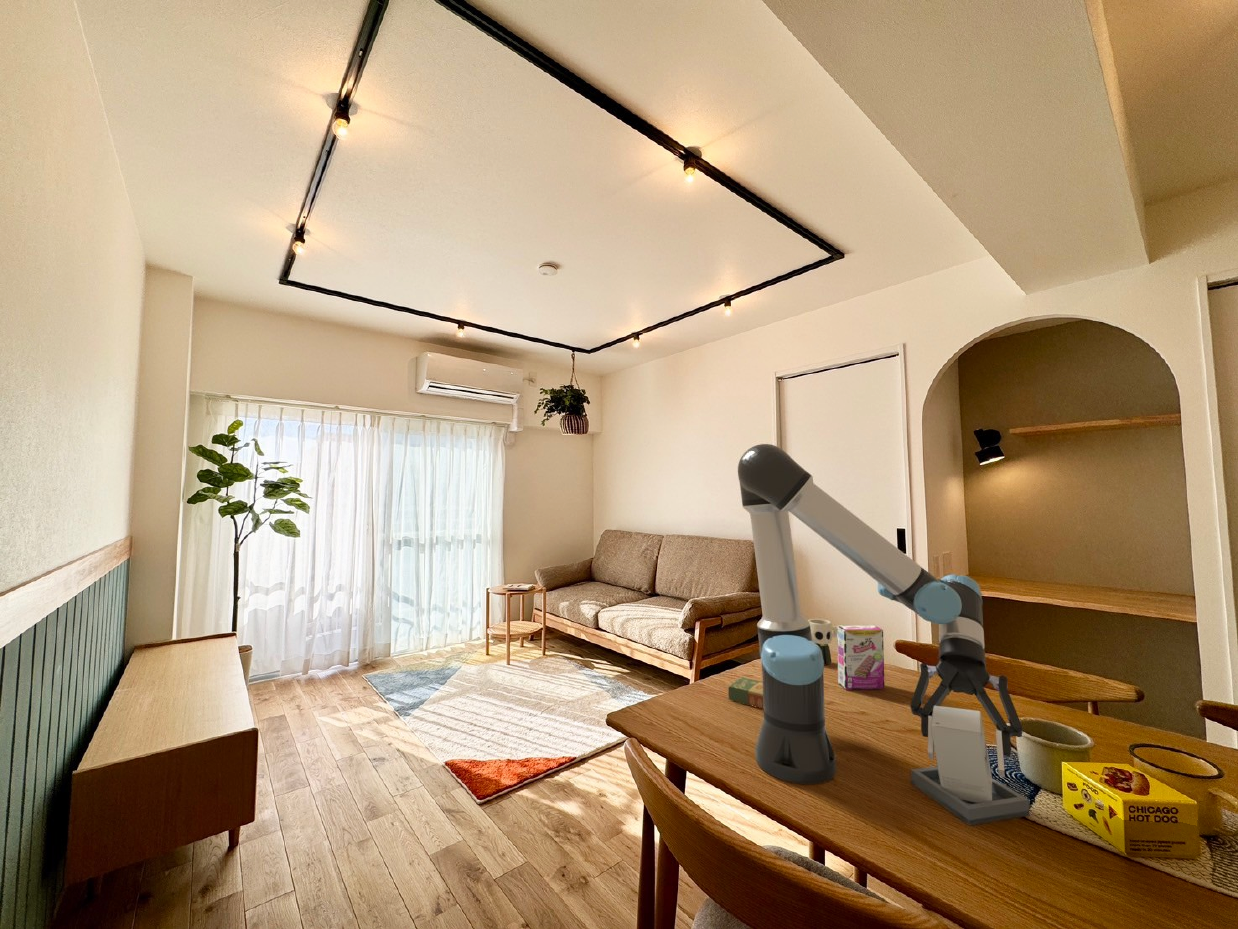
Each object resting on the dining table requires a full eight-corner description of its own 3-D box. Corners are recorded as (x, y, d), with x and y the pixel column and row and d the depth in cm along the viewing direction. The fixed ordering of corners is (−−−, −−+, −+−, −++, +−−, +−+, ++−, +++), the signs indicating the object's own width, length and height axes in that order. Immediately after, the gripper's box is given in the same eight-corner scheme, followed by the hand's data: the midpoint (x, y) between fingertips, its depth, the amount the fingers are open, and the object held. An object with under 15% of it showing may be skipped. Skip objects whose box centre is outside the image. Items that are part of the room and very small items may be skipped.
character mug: (808, 667, 155) (807, 624, 156) (799, 659, 162) (798, 619, 163) (843, 666, 155) (841, 623, 156) (832, 658, 162) (830, 618, 163)
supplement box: (994, 808, 82) (980, 732, 82) (941, 796, 87) (928, 724, 86) (994, 780, 88) (981, 710, 88) (944, 770, 92) (932, 703, 92)
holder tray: (969, 825, 80) (968, 809, 80) (911, 783, 92) (910, 769, 92) (1029, 815, 82) (1029, 799, 82) (965, 775, 94) (964, 762, 94)
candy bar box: (846, 690, 136) (844, 629, 137) (837, 684, 141) (835, 625, 142) (886, 690, 136) (883, 629, 137) (876, 683, 141) (874, 624, 142)
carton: (788, 718, 120) (787, 700, 120) (727, 701, 130) (727, 684, 130) (800, 706, 126) (799, 689, 127) (741, 691, 136) (741, 675, 137)
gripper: (1032, 666, 95) (1048, 794, 81) (900, 647, 107) (894, 755, 93) (1033, 645, 91) (1050, 775, 77) (896, 627, 103) (889, 737, 89)
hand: (965, 764), depth 85 cm, fingers open, 9 cm apart
